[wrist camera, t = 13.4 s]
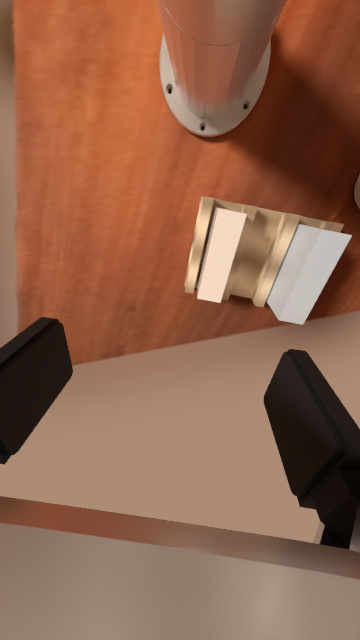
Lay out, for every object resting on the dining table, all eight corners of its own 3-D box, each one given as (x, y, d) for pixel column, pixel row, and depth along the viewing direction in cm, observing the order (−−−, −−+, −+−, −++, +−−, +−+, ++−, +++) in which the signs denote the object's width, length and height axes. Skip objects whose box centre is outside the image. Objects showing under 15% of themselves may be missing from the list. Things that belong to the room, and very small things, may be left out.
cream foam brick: (214, 206, 31) (218, 208, 25) (237, 211, 31) (247, 213, 25) (197, 282, 37) (197, 298, 31) (217, 286, 37) (220, 302, 31)
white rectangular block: (291, 222, 32) (322, 229, 24) (314, 226, 32) (352, 235, 24) (262, 295, 38) (278, 320, 30) (281, 298, 38) (303, 324, 30)
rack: (201, 196, 32) (201, 195, 28) (330, 222, 32) (346, 224, 29) (184, 283, 39) (183, 291, 35) (290, 304, 39) (299, 314, 36)
